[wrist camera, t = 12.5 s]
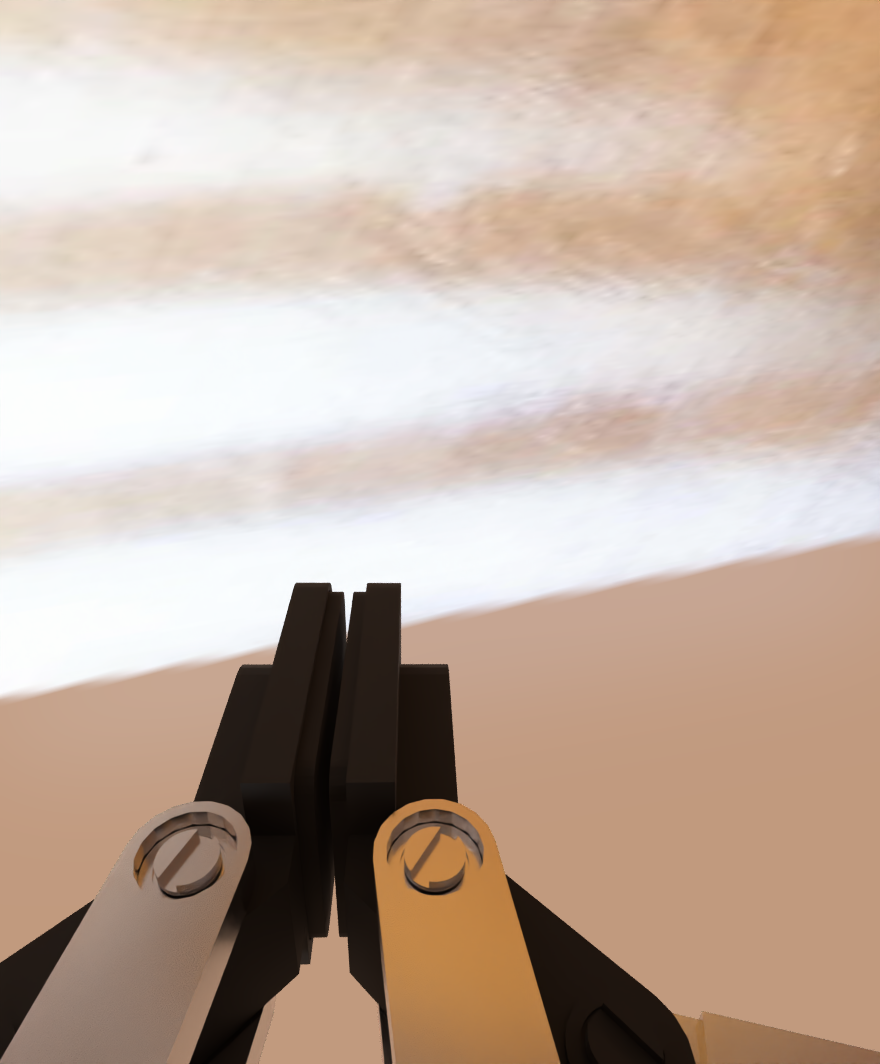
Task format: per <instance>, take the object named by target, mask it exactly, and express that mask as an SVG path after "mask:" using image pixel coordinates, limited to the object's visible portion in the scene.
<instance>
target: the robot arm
mask: <svg viewBox="0 0 880 1064" xmlns="http://www.w3.org/2000/svg"><path fill="white" fill-rule="evenodd" d="M449 682H450V681H449V669H448V665H447V664H414V665H413V664H406V665H405V664H401V583H367V588H366V592H354V593H353V600H352V608H351V615H350V622H349V630H348V637H347V641H346V620H345V599H344V592H332V587H331V584H330V583H296V584H295V586H294V589H293V592H292V596H291V600H290V603H289V607H288V611H287V614H286V618H285V622H284V625H283V629H282V632H281V636H280V640H279V643H278V647H277V651H276V654H275V658H274V662H273V665H242V666H241V667H240V669H239V671H238V673H237V675H236V678H235V682H234V684H233V687H232V690H231V693H230V696H229V699H228V702H227V705H226V708H225V711H224V714H223V717H222V720H221V723H220V726H219V729H218V732H217V735H216V738H215V740H214V744H213V747H212V749H211V752H210V755H209V758H208V761H207V764H206V767H205V770H204V773H203V776H202V779H201V782H200V785H199V788H198V791H197V794H196V797H195V800H194V802H190V803H186V804H182V805H178V806H175V807H172V808H171V809H168V810H166V811H164V812H163V813H160V814H158V815H156V816H155V817H154V818H152V819H151V820H150V821H149V822H147V823H146V824H145V825H144V826H142V827H141V828H140V829H139V830H138V831H137V833H136V834H135V835H134V836H133V838H132V839H131V840H130V841H129V843H128V844H127V845H126V847H125V849H124V850H123V852H122V854H121V855H120V857H119V859H118V860H117V862H116V864H115V865H114V868H113V869H112V871H111V872H110V874H109V876H108V877H107V879H106V881H105V883H104V884H103V886H102V888H101V889H100V891H99V893H98V894H97V896H96V898H95V899H94V900H93V901H91V902H90V903H88V904H87V905H85V906H84V907H82V908H81V909H79V910H78V911H77V912H75V913H73V914H72V915H70V916H69V917H67V918H66V919H64V920H63V921H61V922H60V923H59V924H57V925H56V926H54V927H53V928H51V929H50V930H48V931H47V932H45V933H44V934H42V935H41V936H40V937H38V938H36V939H35V940H33V941H32V942H30V943H29V944H27V945H26V946H25V947H23V948H22V949H20V950H19V951H17V952H16V953H14V954H13V955H11V956H10V957H8V958H7V959H5V960H4V961H2V962H1V963H0V1064H259V1061H260V1057H261V1054H262V1050H263V1047H264V1044H265V1041H266V1037H267V1034H268V1030H269V1027H270V1024H271V1021H272V1017H273V1013H274V1007H275V1000H276V994H277V993H278V992H280V991H281V990H282V989H283V988H284V987H285V986H286V985H287V984H288V983H289V982H290V981H292V980H293V979H294V978H295V977H296V976H297V975H298V974H299V970H300V964H310V960H311V952H312V944H313V938H314V937H327V936H328V931H329V923H330V914H331V905H332V895H333V886H334V877H335V885H336V899H337V911H338V926H339V936H340V937H348V950H349V967H350V973H351V975H352V976H353V977H354V978H355V979H356V980H357V981H358V982H359V983H360V984H361V985H362V987H363V988H364V989H365V990H366V991H367V992H368V993H369V994H370V996H371V997H372V998H373V999H374V1000H375V1001H376V1002H377V1005H378V1020H379V1031H380V1040H381V1051H382V1062H383V1064H880V1052H877V1051H873V1050H868V1049H864V1048H860V1047H856V1046H851V1045H847V1044H843V1043H838V1042H834V1041H830V1040H825V1039H821V1038H817V1037H812V1036H808V1035H804V1034H799V1033H795V1032H791V1031H786V1030H782V1029H778V1028H774V1027H769V1026H765V1025H761V1024H756V1023H752V1022H748V1021H743V1020H739V1019H735V1018H730V1017H726V1016H722V1015H717V1014H713V1013H709V1012H704V1011H702V1013H701V1015H700V1018H699V1019H695V1018H691V1017H686V1016H682V1015H678V1014H674V1013H672V1012H671V1011H670V1010H668V1008H667V1007H666V1006H665V1005H664V1004H663V1003H662V1002H661V1001H660V1000H659V999H658V998H657V997H656V996H655V995H654V994H652V993H651V992H650V991H649V990H648V989H646V988H645V987H644V986H643V985H641V984H640V983H639V982H638V981H636V980H635V979H634V978H633V977H631V976H630V975H629V974H628V973H626V972H625V971H624V970H623V969H622V968H620V967H619V966H618V965H617V964H615V963H614V962H613V961H612V960H611V959H609V958H608V957H607V956H606V955H604V954H603V953H602V952H601V951H599V950H598V949H597V948H596V947H594V946H593V945H592V944H591V943H590V942H588V941H587V940H586V939H585V938H583V937H582V936H581V935H580V934H578V933H577V932H576V931H575V930H574V929H572V928H571V927H570V926H569V925H567V924H566V923H565V922H564V921H562V920H561V919H560V918H559V917H558V916H556V915H555V914H554V913H552V912H551V911H550V910H549V909H548V908H546V907H545V906H544V905H543V904H542V903H540V902H539V901H538V900H537V899H535V898H534V897H533V896H532V895H530V894H529V893H528V892H527V891H525V890H524V889H523V888H522V887H521V886H519V885H518V884H517V883H516V882H514V881H513V880H512V879H511V878H509V877H508V876H507V875H506V874H505V872H504V869H503V865H502V862H501V859H500V855H499V851H498V848H497V845H496V841H495V839H494V837H493V835H492V833H491V831H490V829H489V827H488V825H487V824H486V823H485V822H484V821H483V820H482V819H481V818H480V817H479V816H478V814H476V813H475V812H474V811H472V810H470V809H468V808H467V807H465V806H463V805H462V804H459V803H458V797H457V782H456V767H455V753H454V739H453V725H452V710H451V695H450V683H449Z"/></svg>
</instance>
